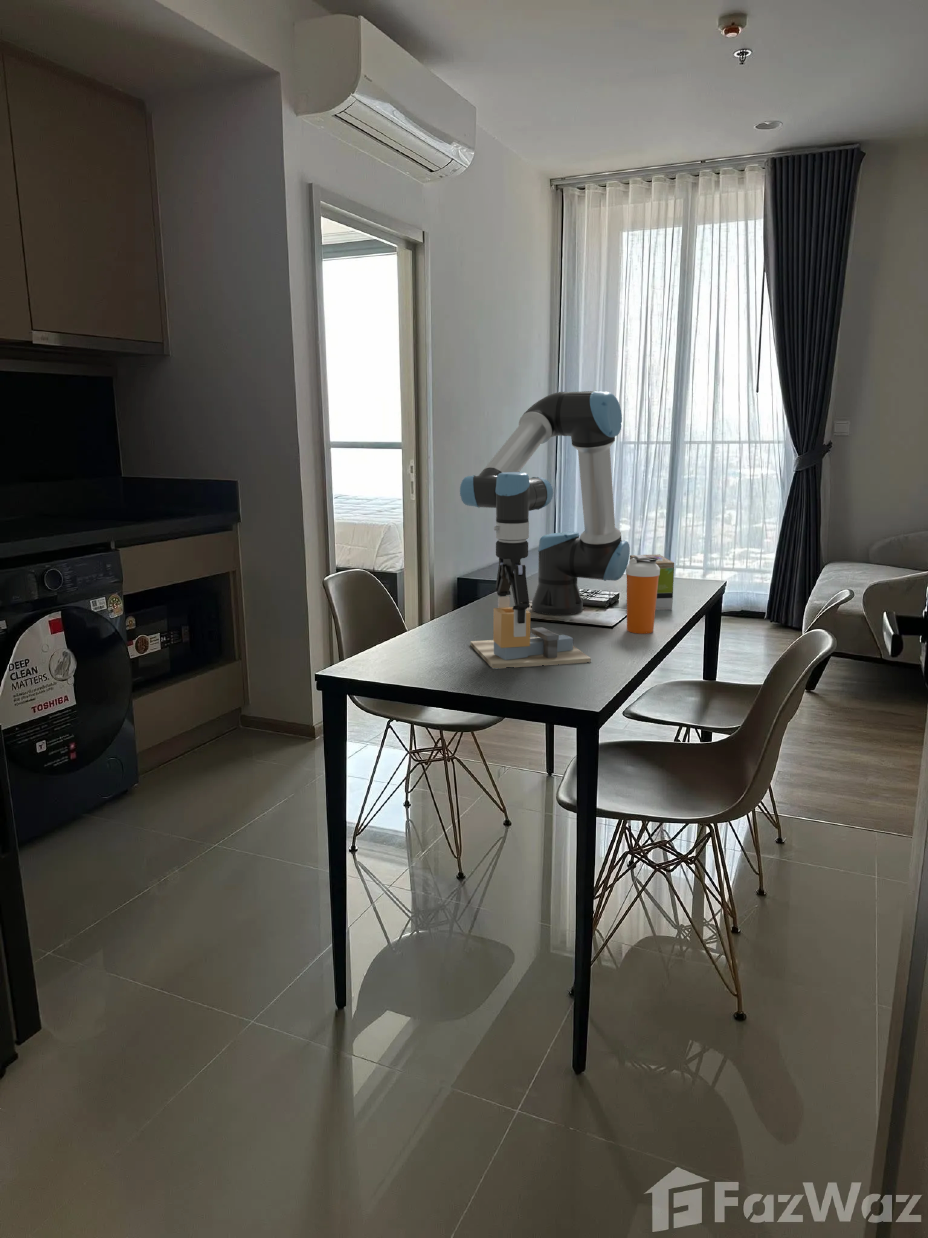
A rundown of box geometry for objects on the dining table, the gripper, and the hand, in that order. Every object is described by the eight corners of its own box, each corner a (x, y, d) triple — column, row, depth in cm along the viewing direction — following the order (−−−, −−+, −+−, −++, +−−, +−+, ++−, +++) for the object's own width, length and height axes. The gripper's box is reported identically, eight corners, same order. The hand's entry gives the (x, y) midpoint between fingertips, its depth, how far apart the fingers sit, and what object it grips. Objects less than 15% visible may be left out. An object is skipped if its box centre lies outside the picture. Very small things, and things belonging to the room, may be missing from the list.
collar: (493, 640, 210) (493, 608, 208) (521, 638, 212) (521, 606, 210) (501, 647, 204) (501, 614, 202) (529, 646, 205) (530, 612, 203)
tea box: (627, 600, 276) (629, 554, 273) (658, 599, 277) (660, 553, 273) (640, 610, 261) (642, 561, 258) (673, 610, 262) (675, 561, 259)
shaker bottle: (657, 635, 232) (660, 560, 227) (622, 633, 234) (626, 559, 229) (656, 627, 240) (660, 555, 236) (623, 626, 242) (626, 554, 238)
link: (505, 660, 204) (505, 647, 204) (493, 653, 210) (493, 641, 209) (574, 651, 212) (575, 639, 212) (562, 645, 217) (562, 633, 217)
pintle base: (470, 645, 222) (470, 606, 220) (559, 639, 228) (560, 602, 225) (492, 668, 202) (493, 626, 199) (590, 662, 207) (592, 621, 205)
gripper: (482, 533, 213) (483, 618, 218) (511, 549, 189) (510, 643, 194) (512, 532, 215) (511, 616, 220) (544, 547, 191) (543, 641, 196)
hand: (511, 629), depth 207 cm, fingers open, 13 cm apart
